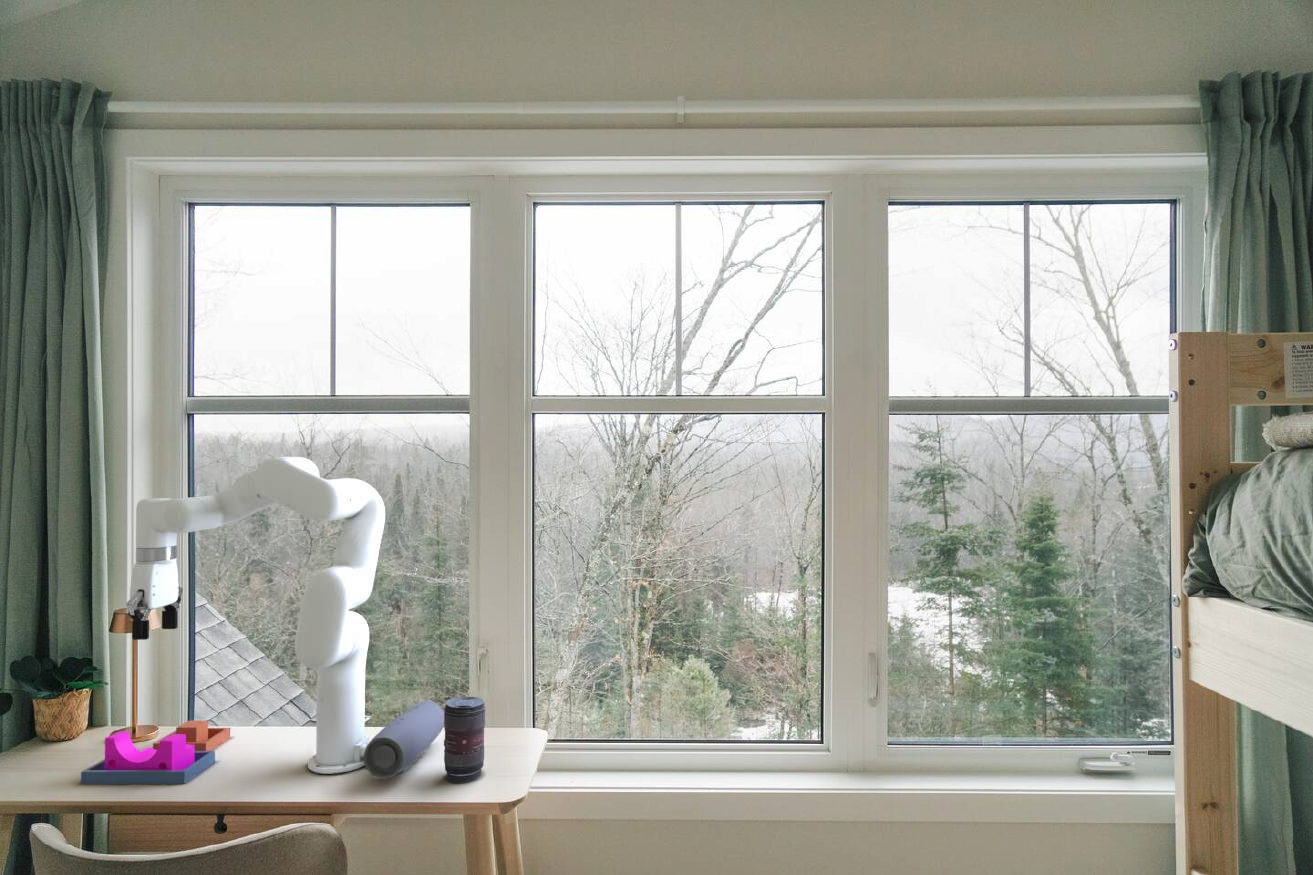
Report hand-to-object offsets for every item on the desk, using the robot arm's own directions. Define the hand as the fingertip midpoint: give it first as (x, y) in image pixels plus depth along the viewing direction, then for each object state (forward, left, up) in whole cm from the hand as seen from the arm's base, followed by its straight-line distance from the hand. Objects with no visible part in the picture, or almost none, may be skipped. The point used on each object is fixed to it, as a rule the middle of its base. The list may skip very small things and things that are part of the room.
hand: (155, 633), depth 168 cm
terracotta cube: (-5, -6, -26) cm, 27 cm away
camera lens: (-70, +11, -26) cm, 76 cm away
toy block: (-5, +9, -26) cm, 28 cm away
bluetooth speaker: (-56, +4, -26) cm, 62 cm away
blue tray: (-5, +9, -26) cm, 28 cm away
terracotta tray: (-5, -5, -26) cm, 27 cm away
